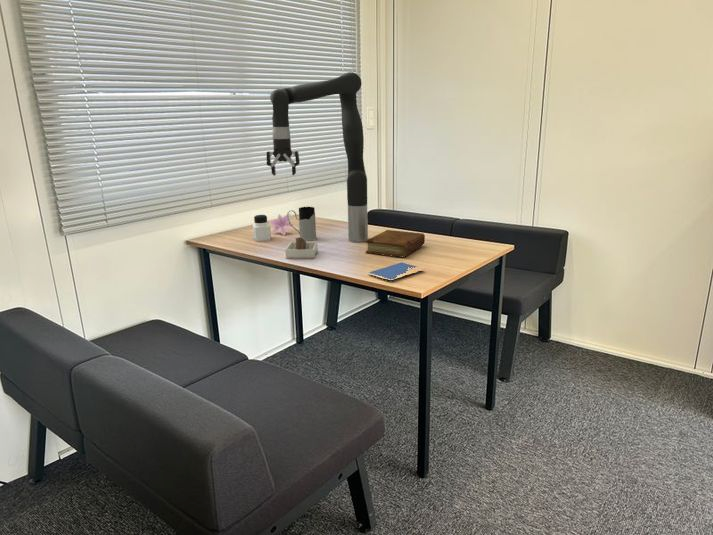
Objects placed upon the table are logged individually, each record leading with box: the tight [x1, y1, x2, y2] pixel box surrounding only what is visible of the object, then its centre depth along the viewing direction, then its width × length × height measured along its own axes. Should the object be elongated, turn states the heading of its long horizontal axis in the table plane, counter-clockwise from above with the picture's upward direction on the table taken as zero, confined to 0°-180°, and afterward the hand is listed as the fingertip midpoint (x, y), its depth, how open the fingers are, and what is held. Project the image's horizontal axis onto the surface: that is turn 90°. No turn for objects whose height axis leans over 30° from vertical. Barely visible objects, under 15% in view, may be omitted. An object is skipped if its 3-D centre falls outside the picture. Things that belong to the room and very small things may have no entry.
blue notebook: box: [368, 262, 418, 280], centre depth 194 cm, size 19×13×1 cm, turn 133°
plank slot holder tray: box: [284, 241, 319, 260], centre depth 218 cm, size 12×12×4 cm
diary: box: [365, 229, 426, 258], centre depth 225 cm, size 23×19×6 cm
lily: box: [268, 213, 294, 236], centre depth 255 cm, size 12×12×10 cm
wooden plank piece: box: [295, 237, 307, 249], centre depth 215 cm, size 2×4×12 cm
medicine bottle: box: [252, 214, 272, 242], centre depth 243 cm, size 7×7×12 cm
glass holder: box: [286, 206, 318, 242], centre depth 243 cm, size 9×14×15 cm, turn 78°
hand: (283, 175), depth 224 cm, fingers open, 8 cm apart
